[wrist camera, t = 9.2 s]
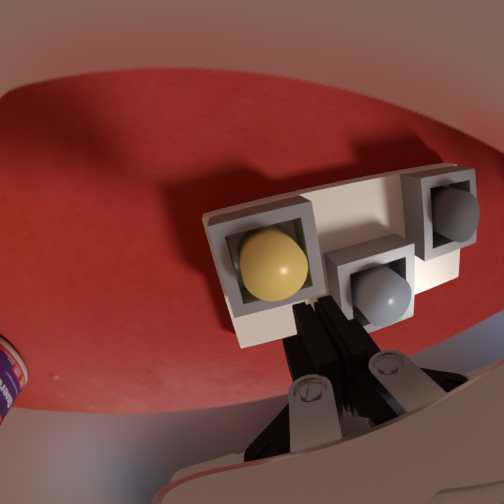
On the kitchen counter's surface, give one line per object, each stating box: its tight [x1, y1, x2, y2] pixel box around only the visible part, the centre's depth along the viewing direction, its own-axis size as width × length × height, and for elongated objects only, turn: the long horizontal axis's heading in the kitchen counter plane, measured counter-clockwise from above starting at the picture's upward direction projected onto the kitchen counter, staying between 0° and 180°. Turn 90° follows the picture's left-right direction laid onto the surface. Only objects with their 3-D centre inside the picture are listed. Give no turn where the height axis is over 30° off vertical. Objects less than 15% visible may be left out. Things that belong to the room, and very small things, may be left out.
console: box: [202, 163, 477, 348], centre depth 23 cm, size 24×12×5 cm, turn 103°
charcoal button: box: [430, 186, 479, 243], centre depth 21 cm, size 4×4×4 cm
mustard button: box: [238, 224, 308, 301], centre depth 20 cm, size 4×4×4 cm
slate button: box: [350, 264, 412, 327], centre depth 22 cm, size 4×4×4 cm
